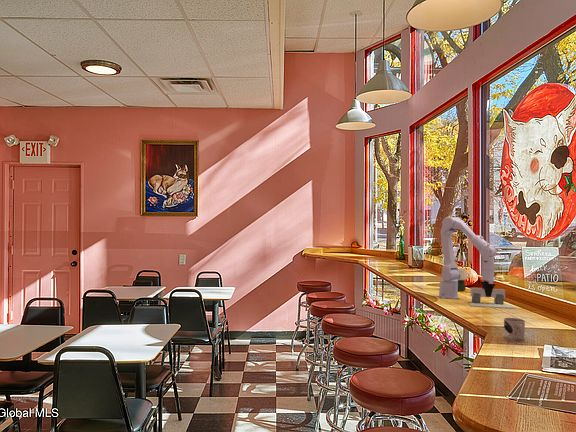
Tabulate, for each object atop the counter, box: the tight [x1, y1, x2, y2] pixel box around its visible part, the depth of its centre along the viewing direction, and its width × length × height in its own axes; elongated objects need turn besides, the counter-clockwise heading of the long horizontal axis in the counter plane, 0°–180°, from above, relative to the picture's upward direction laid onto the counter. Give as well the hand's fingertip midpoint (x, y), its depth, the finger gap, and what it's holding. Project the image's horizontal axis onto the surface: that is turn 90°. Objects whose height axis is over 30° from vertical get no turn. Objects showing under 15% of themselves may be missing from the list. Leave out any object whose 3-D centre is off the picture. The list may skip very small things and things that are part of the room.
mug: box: [503, 317, 526, 342], centre depth 165 cm, size 10×7×7 cm
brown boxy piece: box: [471, 294, 482, 303], centre depth 239 cm, size 3×6×5 cm, turn 169°
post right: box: [493, 295, 505, 305], centre depth 237 cm, size 3×6×5 cm, turn 169°
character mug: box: [458, 268, 471, 291], centre depth 282 cm, size 11×7×13 cm, turn 80°
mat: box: [468, 302, 516, 310], centre depth 230 cm, size 20×7×1 cm, turn 79°
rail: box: [469, 287, 506, 299], centre depth 238 cm, size 16×3×4 cm, turn 79°
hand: (487, 296), depth 238 cm, fingers closed on rail, 3 cm apart
